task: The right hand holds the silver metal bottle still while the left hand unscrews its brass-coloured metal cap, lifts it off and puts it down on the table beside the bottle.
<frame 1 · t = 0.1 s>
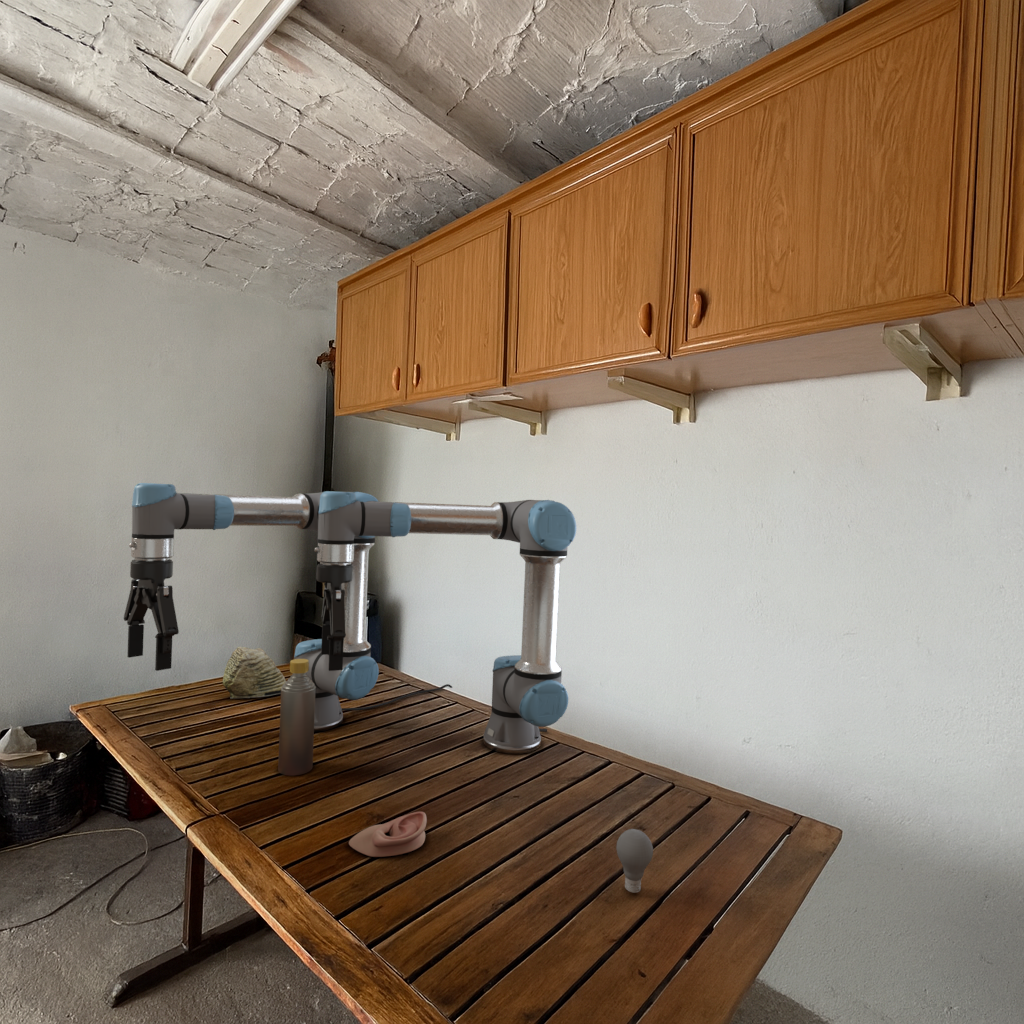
left hand: (148, 662, 129), 28 cm above the table, tool pointing down, fingers open, 13 cm apart
right hand: (331, 661, 136), 28 cm above the table, tool pointing down, fingers open, 13 cm apart
anatomical model: (388, 842, 117), on the table
bottle: (295, 768, 147), on the table
light bulb: (632, 891, 106), on the table
fossil: (254, 694, 198), on the table
cap: (299, 662, 146), point 25 cm above the table, screwed on, not yet turned
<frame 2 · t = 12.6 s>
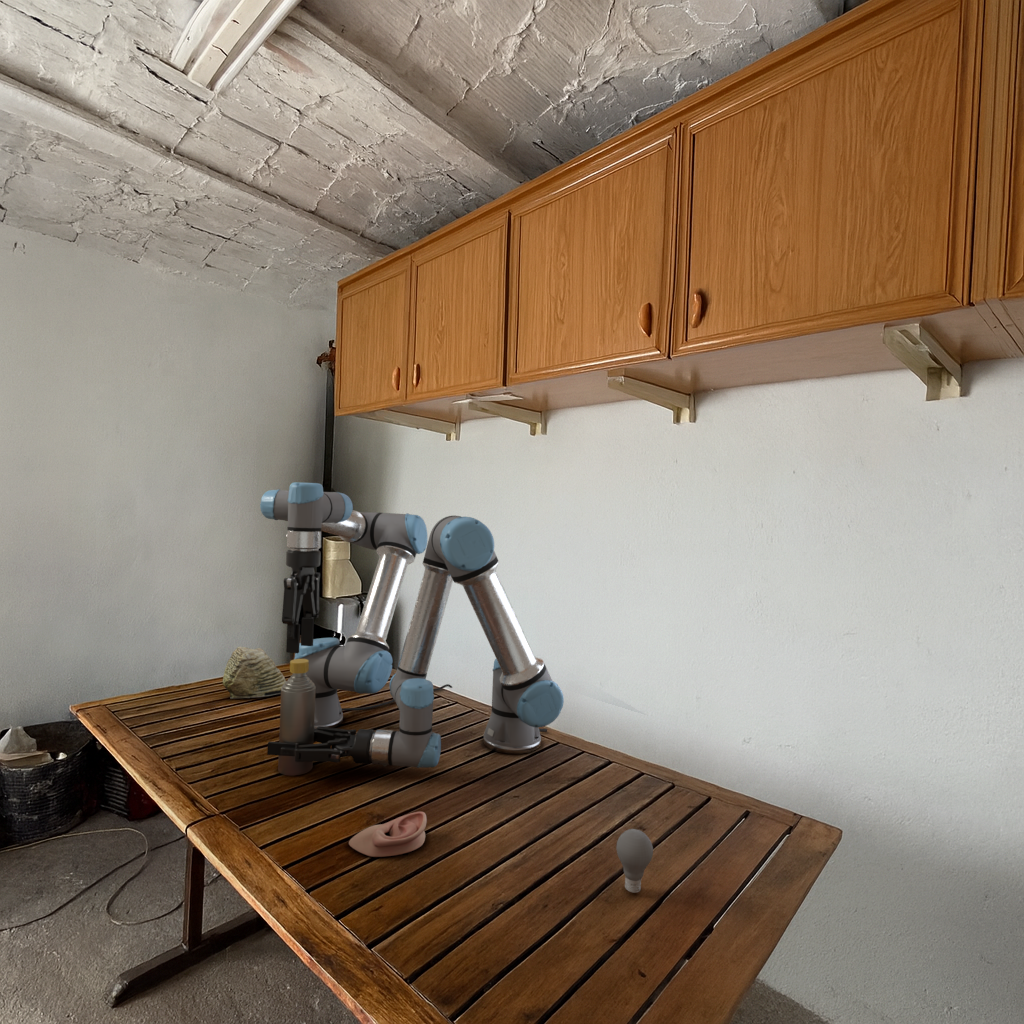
left hand: (300, 648, 146), 28 cm above the table, tool pointing down, fingers open, 6 cm apart
right hand: (275, 741, 147), 6 cm above the table, tool horizontal, fingers closed on bottle, 8 cm apart
bottle: (295, 768, 147), on the table, touching right hand
everything else where it was.
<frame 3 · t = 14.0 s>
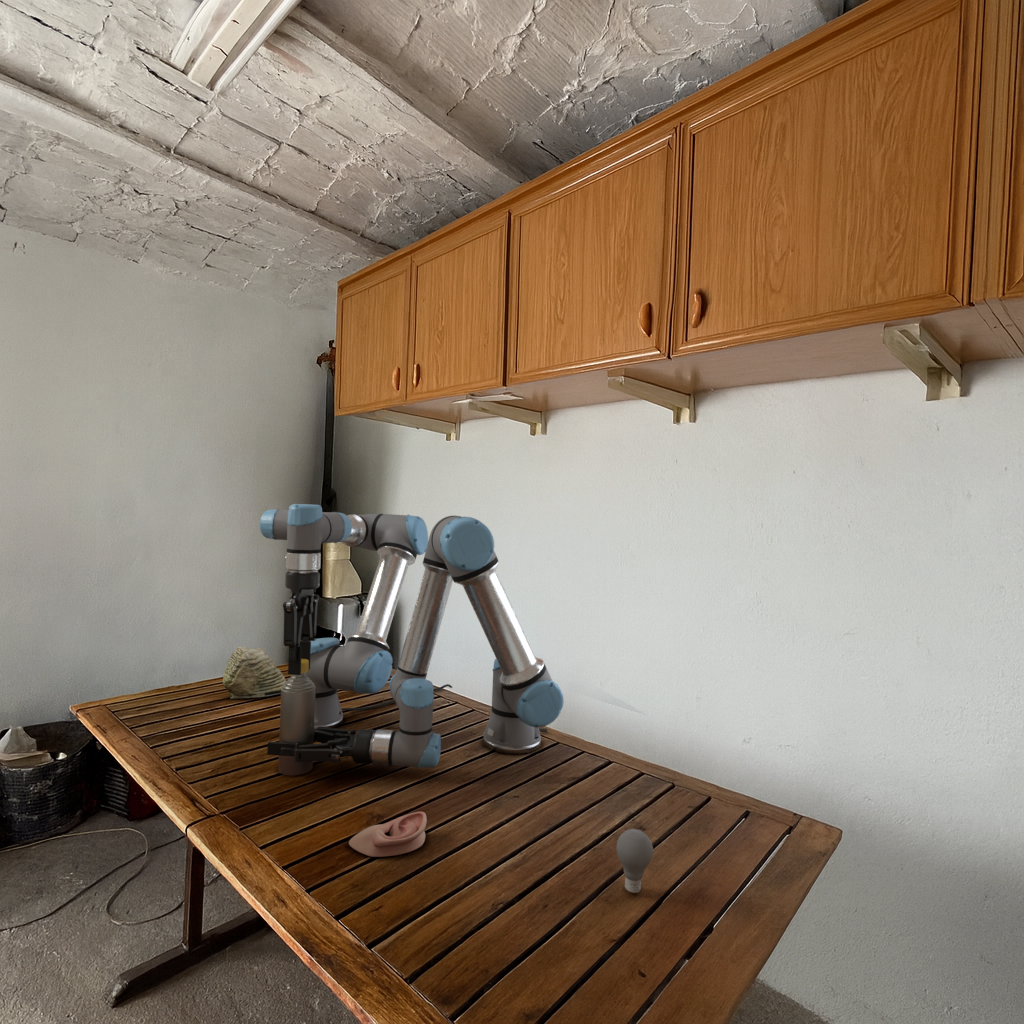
left hand: (299, 671, 146), 23 cm above the table, tool pointing down, fingers closed on cap, 4 cm apart
right hand: (275, 741, 147), 6 cm above the table, tool horizontal, fingers closed on bottle, 8 cm apart
bottle: (295, 768, 147), on the table, touching right hand
cap: (299, 662, 146), point 25 cm above the table, screwed on, not yet turned, touching left hand
everything else where it was.
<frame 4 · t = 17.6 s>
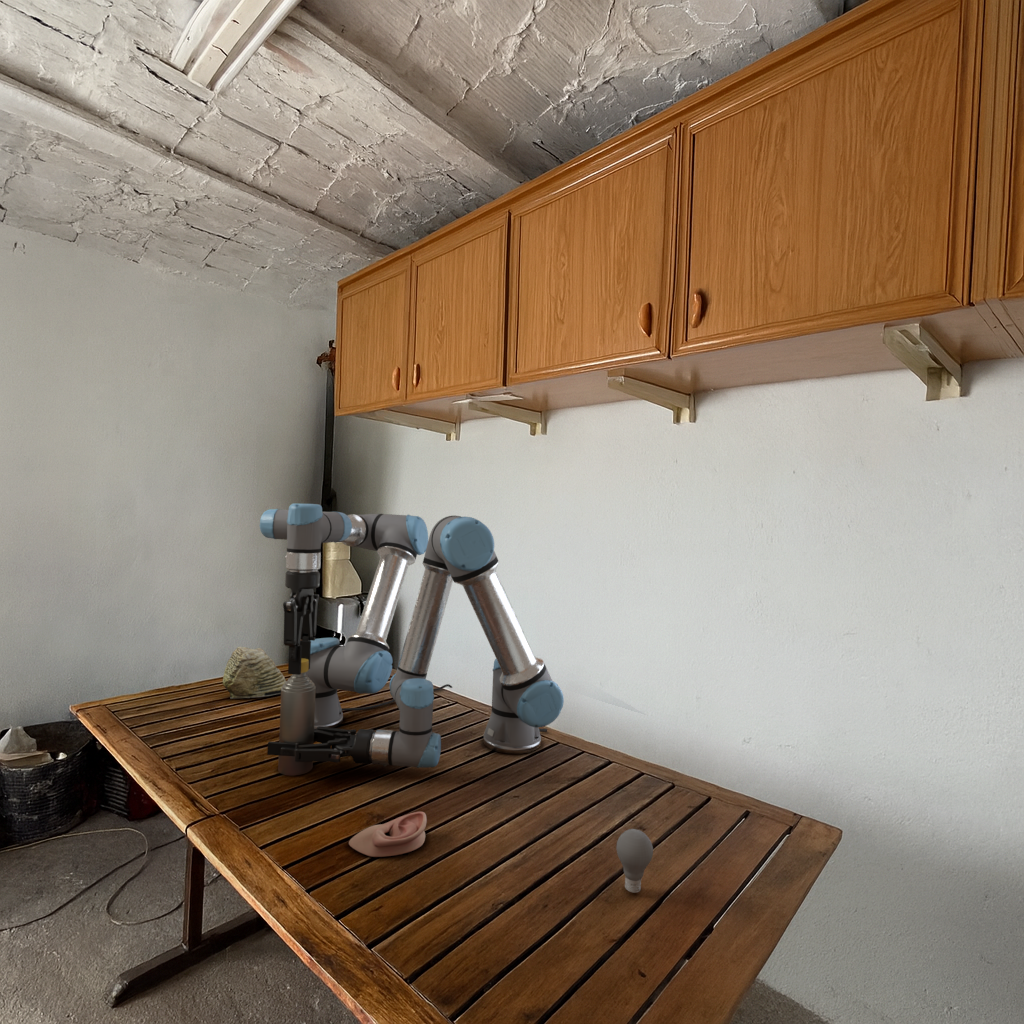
left hand: (299, 670, 146), 23 cm above the table, tool pointing down, fingers closed on cap, 4 cm apart
right hand: (275, 741, 147), 6 cm above the table, tool horizontal, fingers closed on bottle, 8 cm apart
bottle: (295, 768, 147), on the table, touching right hand
cap: (299, 661, 146), point 25 cm above the table, turned 108° so far, risen 0.1 cm, still on its thread, touching left hand
everything else where it was.
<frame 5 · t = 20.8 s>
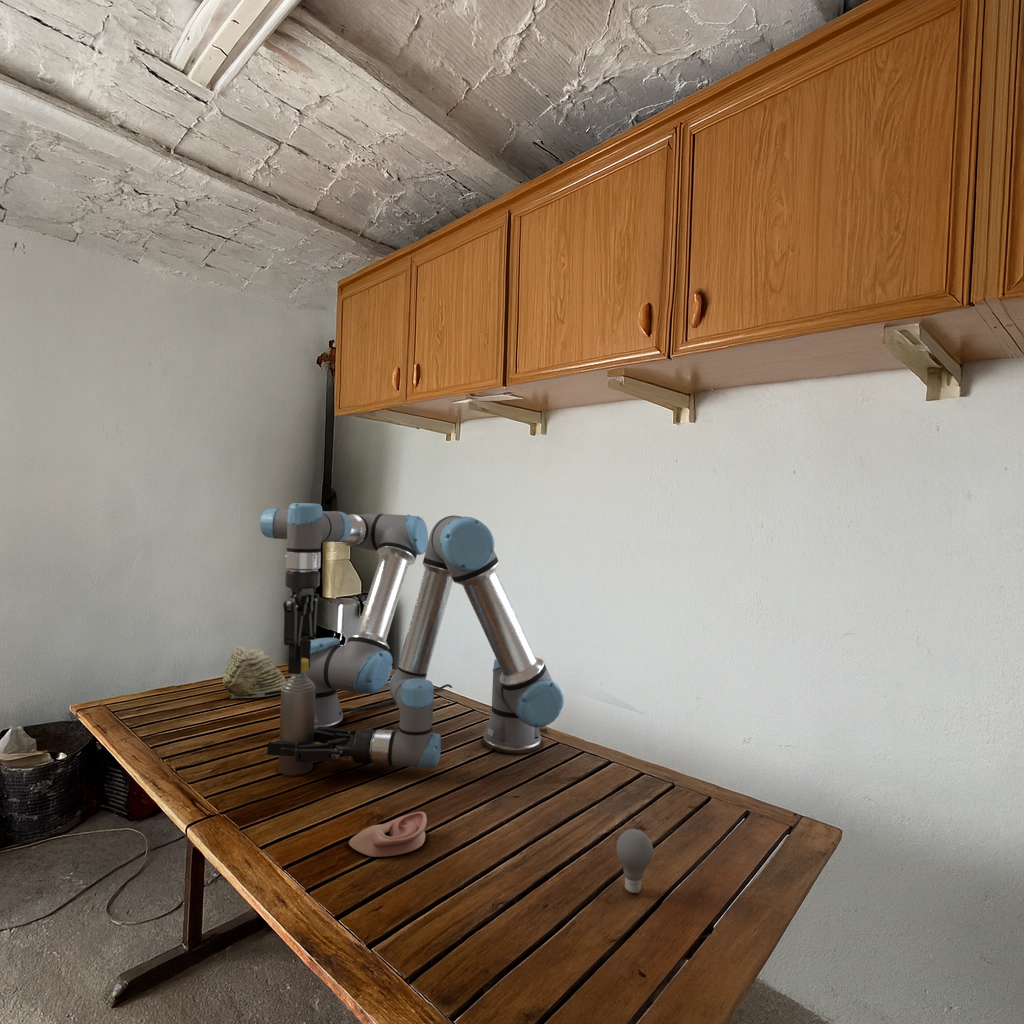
left hand: (299, 670, 146), 23 cm above the table, tool pointing down, fingers closed on cap, 4 cm apart
right hand: (275, 741, 147), 6 cm above the table, tool horizontal, fingers closed on bottle, 8 cm apart
bottle: (295, 768, 147), on the table, touching right hand
cap: (299, 661, 146), point 25 cm above the table, turned 217° so far, risen 0.2 cm, still on its thread, touching left hand
everything else where it was.
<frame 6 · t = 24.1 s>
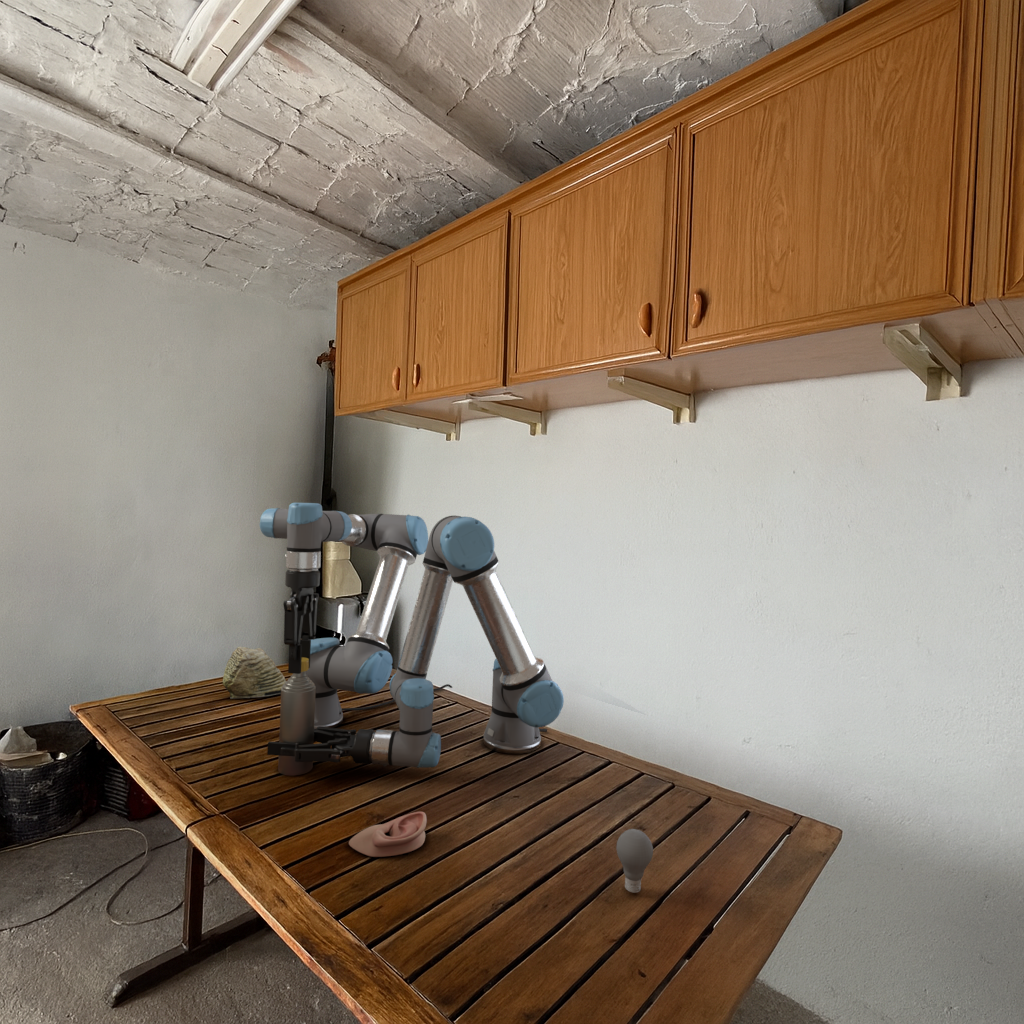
left hand: (299, 670, 146), 23 cm above the table, tool pointing down, fingers closed on cap, 4 cm apart
right hand: (275, 741, 147), 6 cm above the table, tool horizontal, fingers closed on bottle, 8 cm apart
bottle: (295, 768, 147), on the table, touching right hand
cap: (299, 660, 146), point 25 cm above the table, turned 325° so far, risen 0.3 cm, still on its thread, touching left hand
everything else where it was.
when the left hand's fingers open (1 cm above the table, at t = 31.3 s): cap drops 1 cm, point 2 cm above the table.
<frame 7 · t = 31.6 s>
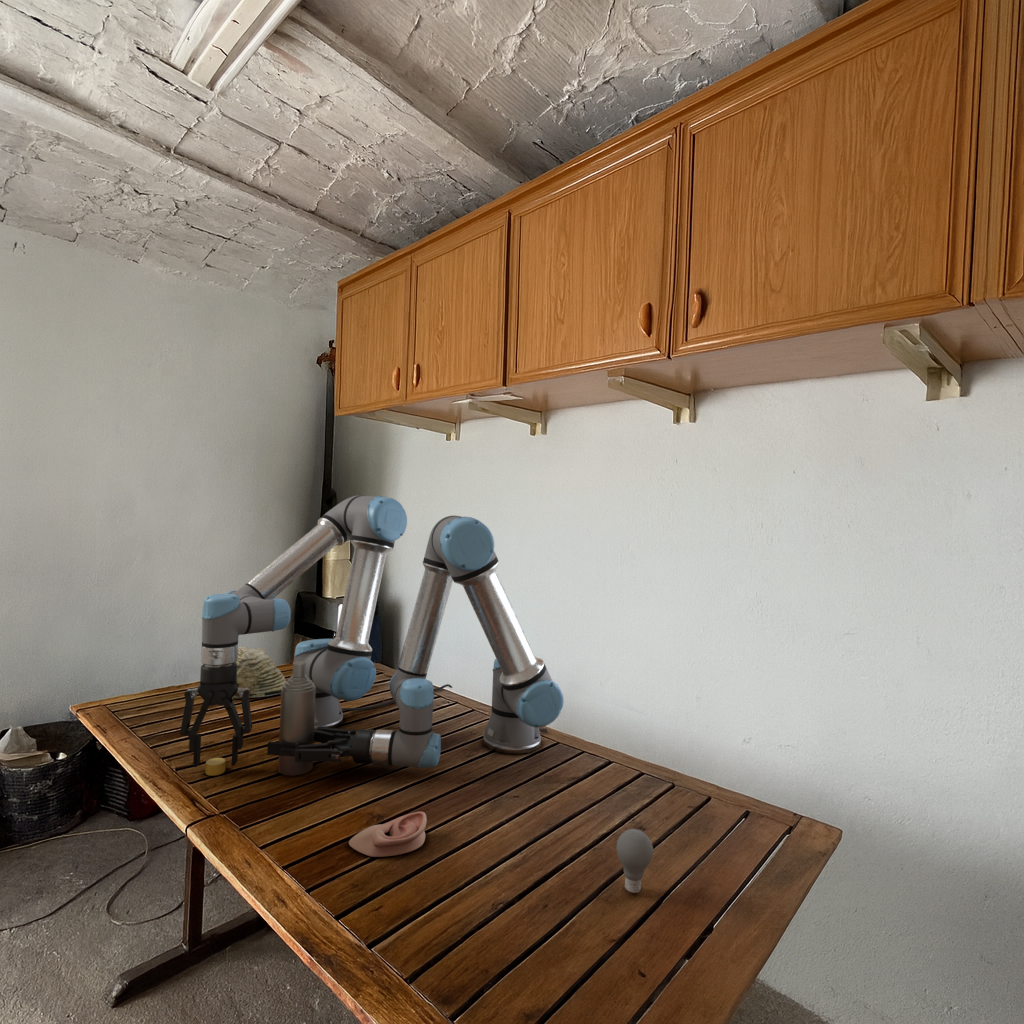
left hand: (215, 763, 143), 2 cm above the table, tool pointing down, fingers open, 7 cm apart
right hand: (275, 741, 147), 6 cm above the table, tool horizontal, fingers closed on bottle, 8 cm apart
bottle: (295, 768, 147), on the table, touching right hand
cap: (215, 762, 143), point 2 cm above the table, off its thread
everything else where it was.
when the right hand's fingers open (6 cm above the table, at t = 32.6 s): bottle stays where it is, on the table.
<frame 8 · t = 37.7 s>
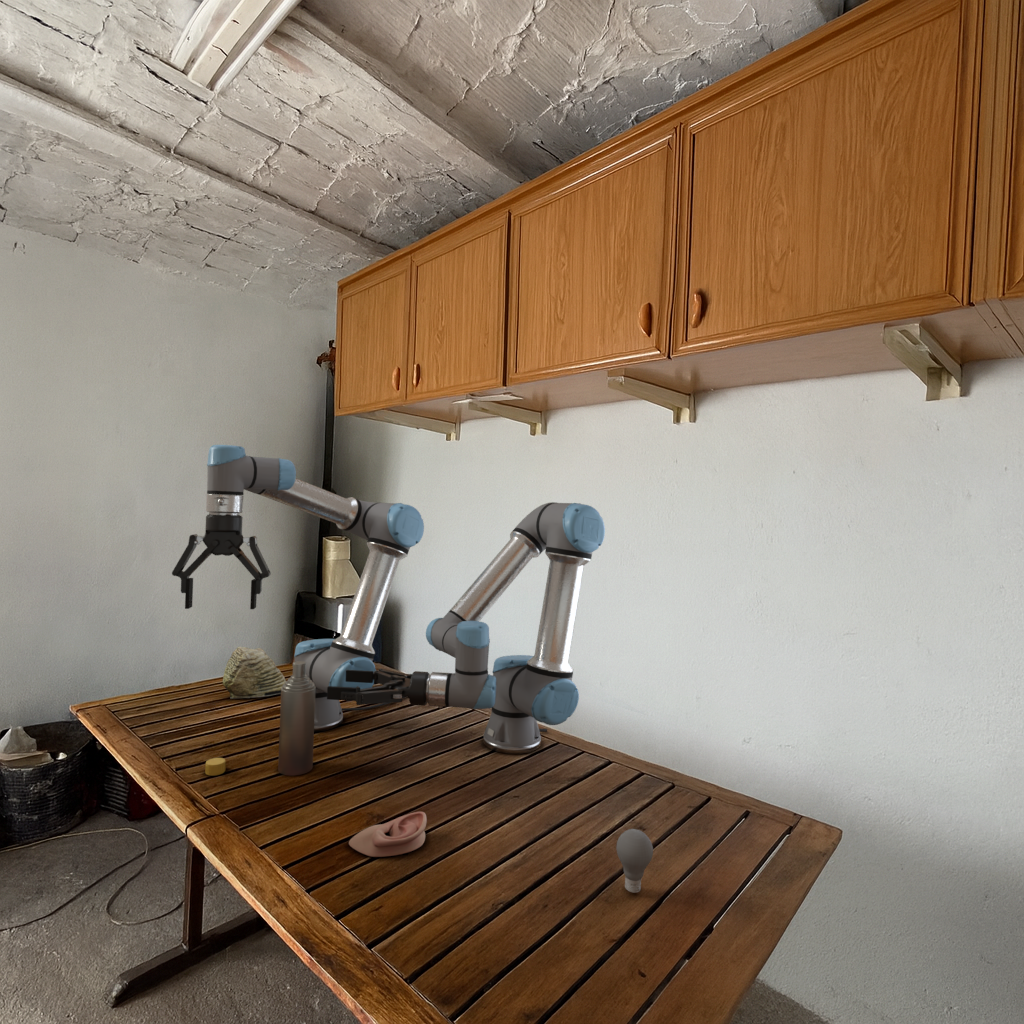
left hand: (221, 608, 143), 37 cm above the table, tool pointing down, fingers open, 13 cm apart
right hand: (337, 683, 146), 20 cm above the table, tool horizontal, fingers open, 13 cm apart
bottle: (295, 768, 147), on the table
everything else where it was.
at the end: cap came off its thread; cap point 2.1 cm above the table; the left hand is holding nothing; the right hand is holding nothing; bottle tilted 0°; bottle moved 0.0 cm from its start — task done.
